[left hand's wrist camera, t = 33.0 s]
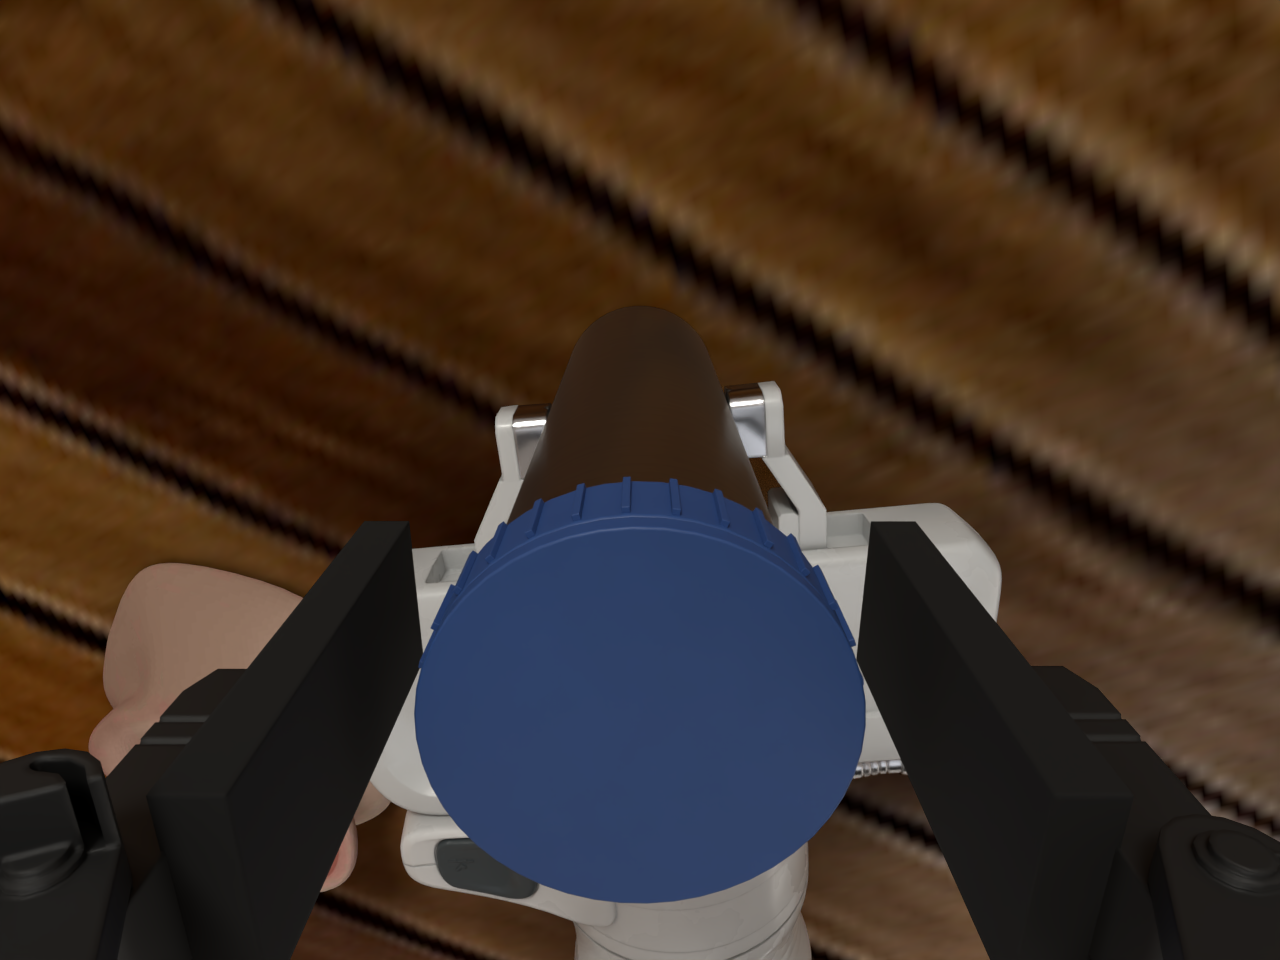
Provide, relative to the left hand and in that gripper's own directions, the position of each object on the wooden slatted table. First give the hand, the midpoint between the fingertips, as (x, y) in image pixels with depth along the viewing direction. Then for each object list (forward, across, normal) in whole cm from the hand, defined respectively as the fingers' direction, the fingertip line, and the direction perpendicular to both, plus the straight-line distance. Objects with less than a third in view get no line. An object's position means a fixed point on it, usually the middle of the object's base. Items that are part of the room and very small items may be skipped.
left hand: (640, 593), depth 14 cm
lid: (-3, 0, 0) cm, 3 cm away
